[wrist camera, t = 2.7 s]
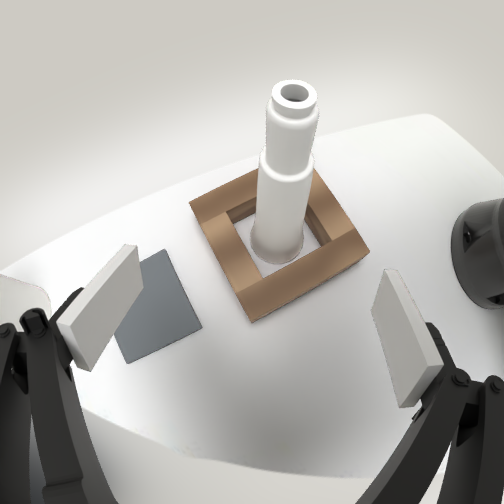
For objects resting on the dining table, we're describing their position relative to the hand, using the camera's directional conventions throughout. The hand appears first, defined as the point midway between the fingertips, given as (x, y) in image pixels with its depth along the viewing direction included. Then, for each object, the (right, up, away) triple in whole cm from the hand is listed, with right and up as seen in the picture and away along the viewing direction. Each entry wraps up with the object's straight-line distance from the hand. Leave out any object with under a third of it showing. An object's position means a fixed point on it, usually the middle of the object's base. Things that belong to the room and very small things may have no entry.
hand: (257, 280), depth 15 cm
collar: (+3, +3, +19) cm, 19 cm away
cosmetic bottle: (+3, +3, +19) cm, 19 cm away
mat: (-12, -5, +17) cm, 22 cm away
